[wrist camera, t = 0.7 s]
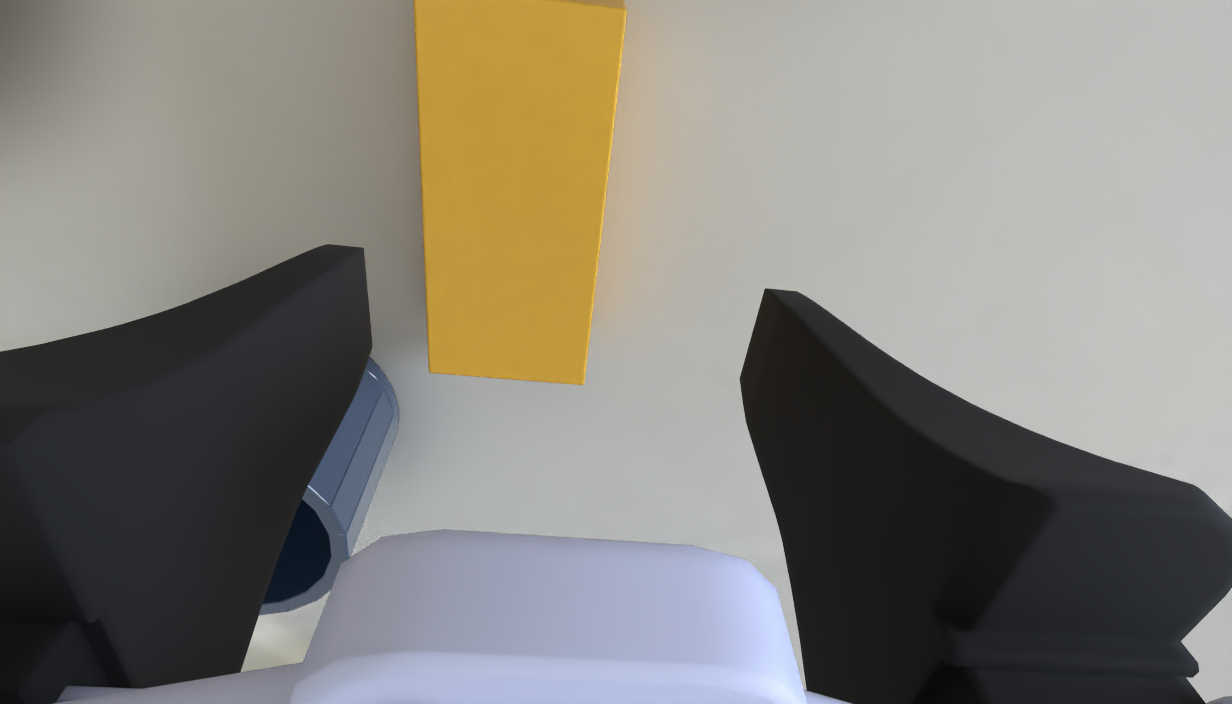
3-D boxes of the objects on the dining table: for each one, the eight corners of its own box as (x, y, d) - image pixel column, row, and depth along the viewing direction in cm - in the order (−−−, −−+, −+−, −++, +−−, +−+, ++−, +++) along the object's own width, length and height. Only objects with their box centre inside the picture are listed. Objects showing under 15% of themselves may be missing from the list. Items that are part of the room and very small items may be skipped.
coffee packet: (585, 332, 22) (584, 385, 20) (447, 320, 22) (428, 373, 19) (622, -7, 17) (627, 9, 14) (439, -31, 16) (411, -19, 14)
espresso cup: (369, 498, 26) (315, 638, 21) (177, 439, 24) (69, 577, 19) (425, 365, 23) (377, 494, 18) (207, 285, 21) (85, 403, 16)
